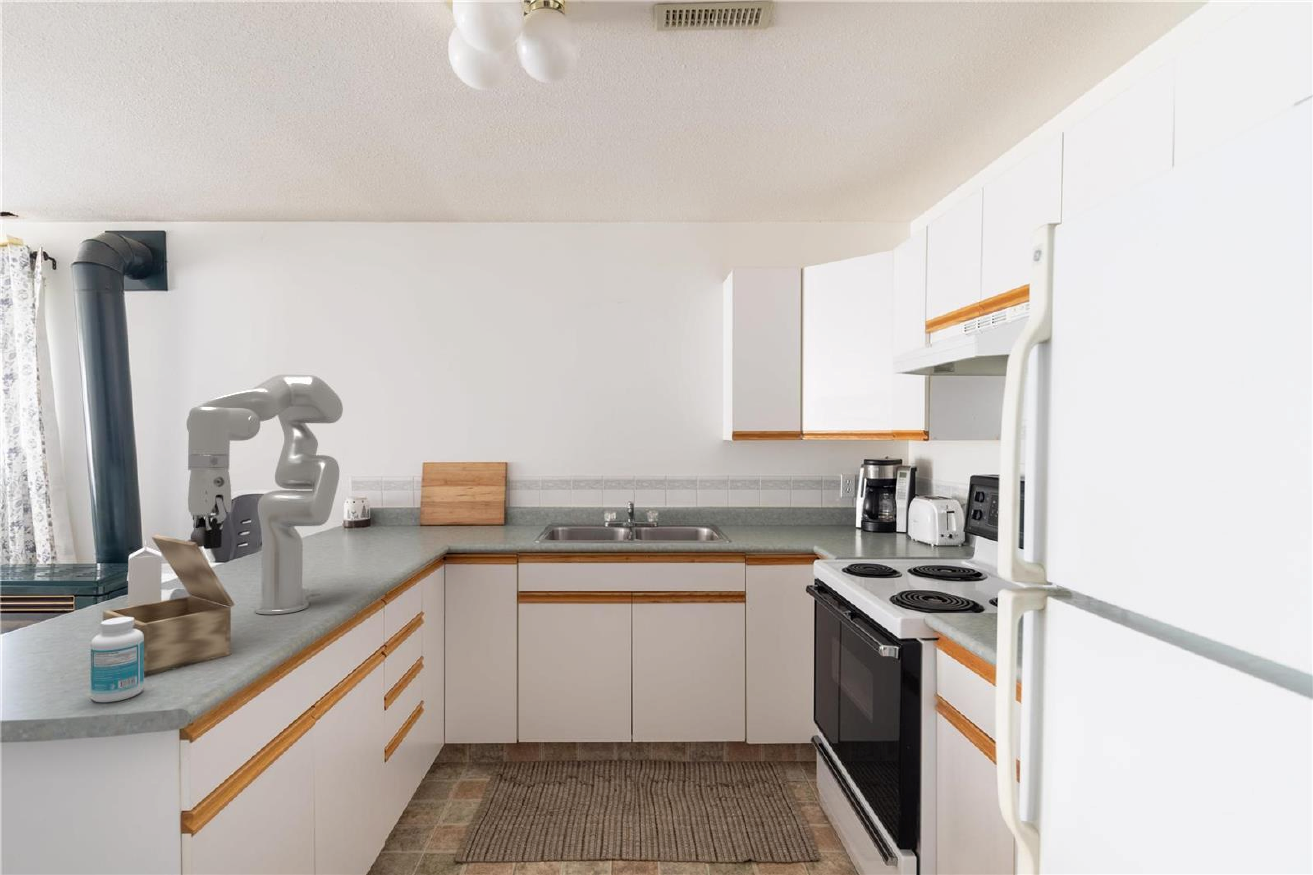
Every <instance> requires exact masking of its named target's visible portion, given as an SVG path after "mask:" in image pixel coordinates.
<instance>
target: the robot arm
mask: <svg viewBox="0 0 1313 875" xmlns="http://www.w3.org/2000/svg"><path fill="white" fill-rule="evenodd" d="M343 410H344V407H343V402H342V400H341V398H340V396H339V395H338V394H337V393H336V392H335V391H334V390H333V389H332V388H331V387H330V385H328V384H327V383H326V382H325V381H324V380H323V379H321V378H320V377H318V376H315V375H312V374H278V375H274V376H272V377H270V378H269V379H266V380H265V381H263V382H262V383H260V384H258V385H256V386H255V387H253V388H251V389H247V390H243V391H239V392H235V393H231V394H226V395H221V396H219V397H215V398H212V399H210V400H207V401H205V402H203V403H201V404H200V405H198V406H194V407H192V408H191V409H190V410H189V412H188V417H187V419H186V430H187V432H188V440H187V441H188V444H187V445H188V447H187V449H188V450H187V452H188V453H187V454H188V455H187V462H188V463H187V470H188V471H190V473H189V481H188V484H189V485H188V493H187V499H188V500H187V504H188V505H187V506H188V507H187V509H188V512H189V513H190V515H191V517H192V520H193V523H192V526H193V531H194V530H195V529H196V528H199V527H206V529H207V530H204V545H203V546H199V545H198V547H199V548H202V547H203V549H205V550H209V549H210V550H211V549H219V548H221V547H222V540H223V539H222V537H223V536H222V531H223V525H224V524H223V523H224V521H225V519H226V518H227V516H228V515H230V514H231V513H232V488H231V486H232V485H231V476H230V471H229V470H230V454H231V453H230V448H231V447H230V445H231V444H230V443H231V441H232V442H233V441H234V442H236V441H238V442H239V441H242V442H243V441H248V440H251V439H254V438H255V437H256V436H257V435H258V434H259V432H260V428H261V422H264V421H266V422H267V421H269V420H272V419H274V418H276V417H278V420H279V423H280V426H281V429H282V432H283V436H284V437H283V438H284V439H283V445H282V449H281V452H280V454H279V455H280V456H279V459H278V462H277V466H276V469H275V473H274V482H275V484H276V485H277V486H278V487H279V488H282V489H284V490H282V489H281V490H278V489H277V490H273V491H269V492H268V491H267V492H266V493H264V494H263V495H262V496H261V497H260V498H259V499H258V504H257V513H258V514H257V515H258V516H257V517H258V518H259V523H260V532H261V589H260V590H261V596H260V598H261V603H259V604H256V605H255V606H254V612H255V613H256V614H259V615H283V614H289V613H295V612H299V611H302V610H306V609H307V608H309V600H308V599H309V598H310V597H311V598H313V597H318V596H320V594H321V590H320V589H319V588H313V589H311V590H310V589H305V588H303V551H304V550H303V547H304V545H303V538H302V536H301V534H300V533H299V532H298V530H297V529H296V527H319V526H322V525H325V524H326V523H327V522H328V520H329V518H330V516H331V513H332V509H333V505H334V501H335V497H336V493H337V490H338V485H339V481H340V466H339V462H338V461H337V459H336V458H334V457H333V456H330V455H324V454H323V455H322V454H317V451H318V447H319V442H318V441H319V440H318V439H317V438H316V436H315V434H314V433H313V431H312V430H310V428H309V427H308V425H307V424H335V423H336V422H338V421H339V420H340V419H341V417H342V416H343ZM285 489H286V490H285Z"/></svg>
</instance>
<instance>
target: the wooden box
mask: <svg viewBox="0 0 1313 875" xmlns="http://www.w3.org/2000/svg"><path fill="white" fill-rule="evenodd" d="M231 612H232V607H229V606H225V605H222V604H218V603H215V602H211V601H208V600H204V599H199V598H196V597H192V596H187V597H182V598H176V599H170V600H165V601H159V602H153V603H148V604H142V605H136V606H131V607H128V606H127V607H120V608H114V609H108V610H104V611H102V621H105V620H108V619H112V618H119V617H133V618H134V623H135V624H134V626H133V629H137V630H140V631H141V632H142V633H143V635H144V678H145V677H148V676H153V675H155V673H156V674H160V673H164V672H168V671H171V670H170V669H172V670H174V669H173V668H176V669H179V667H180V668H183V667H182V666H184V667H187V666H186V665H188V666H190V665H189V664H192V665H195V664H199V662H200V663H203V661H204V662H206V661H207V660H208V661H211V660H210V659H212V660H215V659H218V658H222V657H223V658H224V657H227V656H230V655H231V625H232V624H231V620H232V617H231V616H232V613H231ZM152 674H153V675H152Z"/></svg>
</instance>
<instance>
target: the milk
mask: <svg viewBox="0 0 1313 875" xmlns="http://www.w3.org/2000/svg"><path fill="white" fill-rule="evenodd" d="M146 540H147V539H145V540H144V547H142V548H140V549H138V550H137V551H134V552H132V553H130V554H129V555H128V559H127V560H128V561H127V563H128V564H127V566H128V567H127V568H128V569H127V572H128V573H127V574H128V575H127V578H128V580H127V581H128V582H127V607H131V606H136V605H142V604H148V603H153V602H159V601H161V589H162V580H163V578H162V572H163V571H162V570H163V568H162V565H163V564H162V562H163V561H162V560H163V558H162V557H163V554H162V552H161V551H160V550H159V551H158V550H157V549H153V548H152V547H148V546H147V541H146Z"/></svg>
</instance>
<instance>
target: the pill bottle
mask: <svg viewBox="0 0 1313 875" xmlns="http://www.w3.org/2000/svg"><path fill="white" fill-rule="evenodd" d="M134 624H135V623H134V618H133V617H119V618H112V619H108V620H105V621H103V620H102V621H101V622H100V631H101V632H100V633H99V634H97V635H96V636H94V637H93V638H92V640H91V641H90V698H91V700H92V701H93V702H96V703H113V702H119V701H124V700H126V699H131V698H133V697H135V696H137V695H138V694H140V693H141V692H142V691H143V690H144V688H145V677H144V635H143V633H142V632H141V631H140V630H137V629H133V626H134Z"/></svg>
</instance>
